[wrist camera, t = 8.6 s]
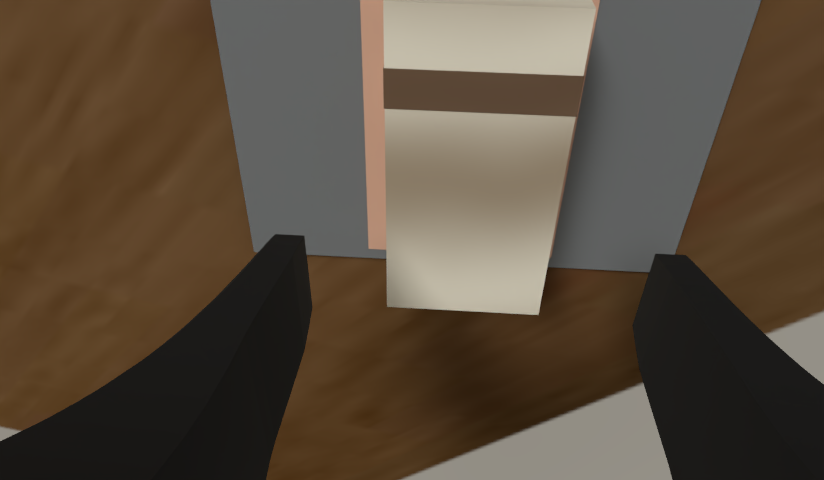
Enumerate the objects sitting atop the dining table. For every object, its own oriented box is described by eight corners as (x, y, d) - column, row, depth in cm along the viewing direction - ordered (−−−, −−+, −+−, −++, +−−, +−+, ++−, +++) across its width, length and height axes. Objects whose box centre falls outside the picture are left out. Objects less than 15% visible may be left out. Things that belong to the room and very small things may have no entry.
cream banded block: (528, 232, 22) (538, 315, 19) (397, 226, 22) (386, 307, 19) (572, -43, 17) (596, 9, 14) (397, -49, 17) (382, 1, 14)
